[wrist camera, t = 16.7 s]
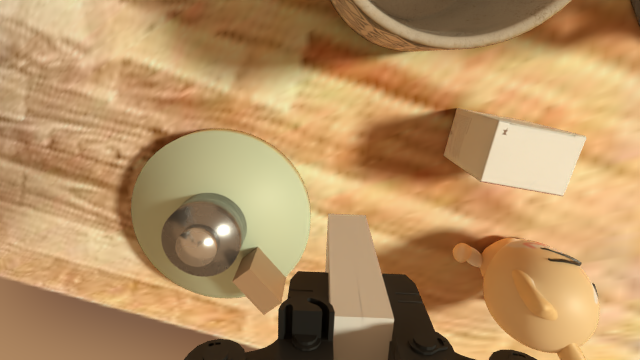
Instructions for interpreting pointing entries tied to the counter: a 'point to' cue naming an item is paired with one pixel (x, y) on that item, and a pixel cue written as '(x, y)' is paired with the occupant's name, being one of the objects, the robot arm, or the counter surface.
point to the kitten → (536, 294)
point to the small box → (513, 151)
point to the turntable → (243, 189)
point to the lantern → (636, 9)
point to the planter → (444, 21)
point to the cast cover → (204, 234)
